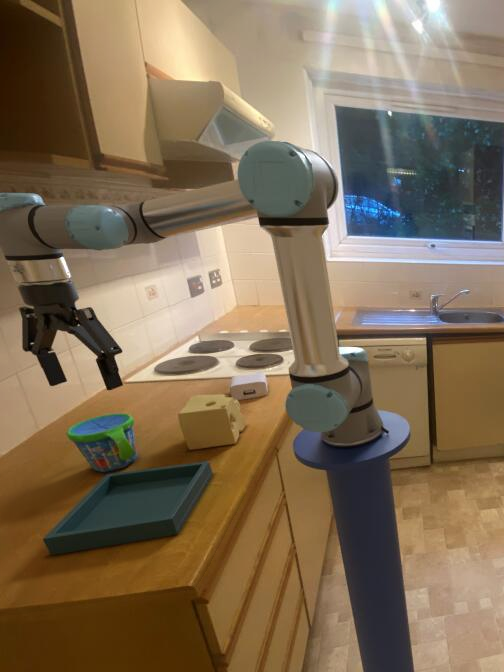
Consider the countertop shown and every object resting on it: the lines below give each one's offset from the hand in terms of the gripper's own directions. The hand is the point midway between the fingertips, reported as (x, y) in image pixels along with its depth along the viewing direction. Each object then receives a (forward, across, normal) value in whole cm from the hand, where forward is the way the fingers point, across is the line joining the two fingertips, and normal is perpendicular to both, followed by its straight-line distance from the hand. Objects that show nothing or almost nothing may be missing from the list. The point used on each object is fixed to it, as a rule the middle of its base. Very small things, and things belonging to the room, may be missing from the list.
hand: (86, 385), depth 90 cm
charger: (+19, 0, +43) cm, 47 cm away
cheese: (+19, +14, +13) cm, 27 cm away
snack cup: (+19, 0, 0) cm, 19 cm away
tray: (+19, +20, -13) cm, 31 cm away
